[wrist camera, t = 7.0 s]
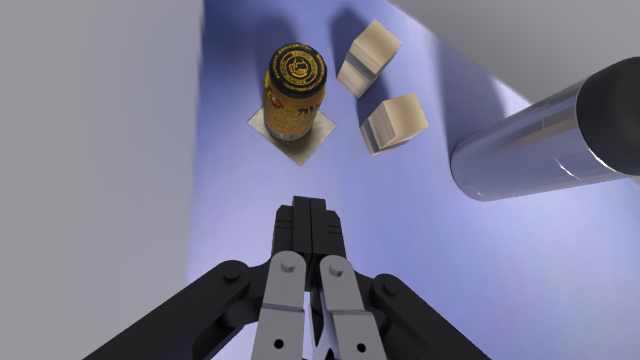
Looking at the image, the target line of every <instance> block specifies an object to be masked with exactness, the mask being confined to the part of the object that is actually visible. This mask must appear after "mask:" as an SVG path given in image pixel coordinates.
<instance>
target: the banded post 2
mask: <svg viewBox="0 0 640 360" xmlns="http://www.w3.org/2000/svg"><path fill="white" fill-rule="evenodd" d="M428 126H429V125H428V123H427V121H426V118H425V116H424V113H423V111H422V108H421V106H420V103H419V101H418V98H417V96H416V93H411V94H407V95H404V96H400V97H396V98H393V99H389V100H385V101H382V103H381V104H380V105H379V106H378V107H377V108H376V109H375V111H374V112H373V113H372V114H371V115H370V116H369V117H367V118H366V119H365V120H364V122H363V124H362V126H361V127H360V130H361V133H362V135H363V138H364V141H365V143H366V146H367V149H368V151H369V154H370V156H372V155H376V154H379V153H382V152H385V151H388V150H391V149H395V148H397V147H399V146H400V145H403V144H405V143H407V142H408V141H410V140H409V139H411V138H412V137H414V136H415V135H417V134H418V133H420V132H421V131H422V130H424V129H425V128H427V127H428Z"/></svg>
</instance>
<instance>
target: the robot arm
mask: <svg viewBox="0 0 640 360" xmlns="http://www.w3.org/2000/svg"><path fill="white" fill-rule="evenodd" d="M451 170H452V174H453V177H454V179H455V182H456V183H457V185H458V186H459V188H460V189H461V190H462V191H463V192H464V193H465V194H466V195H468V196H469V197H471V198H473V199H476V200H479V201H494V200H500V199H506V198H512V197H518V196H524V195H530V194H536V193H541V192H547V191H553V190H559V189H565V188H571V187H576V186H582V185H588V184H594V183H600V182H605V181H611V180H617V179H622V178H628V177H634V176H640V57H633V58H628V59H625V60H622V61H620V62H617V63H615V64H613V65H611V66H609V67H607V68H605V69H603V70H601V71H599V72H597V73H595V74H593V75H591V76H589V77H587V78H585V79H583V80H581V81H579V82H577V83H575V84H573V85H571V86H569V87H567V88H565V89H563V90H561V91H559V92H557V93H555V94H553V95H551V96H549V97H547V98H545V99H543V100H541V101H539V102H537V103H535V104H533V105H531V106H529V107H527V108H525V109H523V110H521V111H519V112H517V113H515V114H513V115H511V116H509V117H507V118H505V119H503V120H501V121H499V122H497V123H495V124H493V125H491V126H489V127H487V128H485V129H483V130H481V131H479V132H477V133H475V134H473V135H471V136H469V137H467V138H465V139H463V140H462V141H461V142H460V143H458V145H457V146H456V147H455V149H454V151H453V154H452V158H451ZM304 291H307V292H310V301H309V305H308V313H309V323H310V332H311V341H312V350H313V359H312V360H491V359H490V358H489V357H488V356H487V355H485V354H484V353H483V352H482V351H481V350H480V349H479V348H477V347H476V346H475V345H474V344H473V343H472V342H471V341H469V340H468V339H467V338H466V337H465V336H464V335H463V334H461V333H460V332H459V331H458V330H457V329H456V328H455V327H453V326H452V325H451V324H450V323H449V322H448V321H447V320H445V319H444V318H443V317H442V316H441V315H440V314H439V313H437V312H436V311H435V310H434V309H433V308H432V307H431V306H429V305H428V304H427V303H426V302H425V301H424V300H423V299H421V298H420V297H419V296H418V295H417V294H416V293H415V292H413V291H412V290H411V289H410V288H409V287H408V286H407V285H405V284H404V283H403V282H402V281H401V280H400V279H398V278H397V277H395V276H393V275H390V274H379V275H377V276H376V277H375V278H374V279H372V278H370V277H367V276H364V275H362V274H359V273H358V272H356V271H355V270H354V269H353V267H352V265H351V263H350V262H349V261H348V260H347V258H346V252H345V246H344V240H343V235H342V228H341V223H340V218H339V217H338V215H337V214H336V212H335V211H331V210H326V203H325V199H319V198H309V197H301V196H293V201H292V206H287V205H281V206H280V208H279V209H278V210H277V212H276V219H275V225H274V232H273V241H272V251H271V258H270V259H269V260H268V261H267V262H266V263H264V264H262V265H259V266H255V267H250V268H249V267H248V266H247V265H246V264H245V263H243V262H241V261H237V260H228V261H224V262H222V263H220V264H218V265H217V266H216V267H214V268H213V269H211V270H210V271H208V272H207V273H206V274H204V275H203V276H201V277H200V278H198V279H197V280H196V281H194V282H193V283H191V284H190V285H188V286H187V287H186V288H184V289H183V290H181V291H180V292H178V293H177V294H175V295H174V296H173V297H171V298H170V299H168V300H167V301H166V302H164V303H163V304H161V305H160V306H158V307H157V308H156V309H154V310H153V311H151V312H150V313H148V314H147V315H146V316H144V317H143V318H141V319H140V320H138V321H137V322H135V323H134V324H133V325H131V326H130V327H128V328H127V329H125V330H124V331H123V332H121V333H120V334H118V335H117V336H115V337H114V338H112V339H111V340H110V341H108V342H107V343H105V344H104V345H103V346H101V347H100V348H98V349H97V350H96V351H94V352H93V353H91V354H90V355H88V356H87V357H85V358H84V359H82V360H211V359H212V358H213V357H214V356H215V355H216V354H217V353H218V352H219V351H220V350H221V349H222V348H223V347H224V346H225V345H226V344H227V343H228V342H229V341H230V340H231V339H232V338H233V337H235V336H236V335H237V334H238V333H239V332H240V331H241V330H242V329H243V327H244V326H245V325H246V324H250V323H254V322H257V321H258V327H257V332H256V337H255V342H254V347H253V352H252V357H251V360H307V359H304V358H302V351H303V335H304V319H305V311H304V310H303V302H304Z"/></svg>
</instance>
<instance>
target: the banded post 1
mask: <svg viewBox="0 0 640 360" xmlns="http://www.w3.org/2000/svg"><path fill="white" fill-rule="evenodd" d="M401 44H402V43H401V42H400V41H399V40H398V39H397V38H396V37H394V36H393V35H392V34H391V33H390V32H389V31H388V30H387V29H385V28H384V27H383V26H382V25H381V24H380V23H379V22H378V21H376V20H374V21H373V22H372V23H371V24H370V25H369V26H368V27H367V28H366V29H365V30H364V31H363V32H362V33H361V34H360V35H359V36H358V37H357V38H356V39H355V40H354V41H353V43H352V46H351V48H350V49H349V50H348V52H347V54H346V56H345V58H344V59H345V61H344V63H343V65H342V67H341V70H340V72H339V74H338V76H337V78H336V79H337V80H338V81H339V82H340V83H342V84H343V85H344V86H345V87H346V88H347V89H348V90H349V91H351V92H352V93H353V94H354V95H355V96H356V97H357V98H358V99H359V98H360V97H361V96H362V95H363V94H364V93H365V92H366V91H367V89H368V88H369V87H370V86H371V85H372V84H373V83H374V82H375V81H376V80H377V78H378V77H379V75H380V74H381V73H382V71H383V70H384V68H385V67H386V66H387V64H388V63H389V62H390V61H391V60H392V59H393V57H394V56H395V55H396V53H397V52H396V51H397V50H398V49H399V47H400V46H401Z"/></svg>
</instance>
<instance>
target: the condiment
mask: <svg viewBox="0 0 640 360" xmlns="http://www.w3.org/2000/svg"><path fill="white" fill-rule="evenodd" d="M326 78H327V67H326V64H325V62H324V60H323V57H322V56H321V55H320V54H319V53H318V52H317V51H316V50H314V49H313V48H312V47H310V46H307V45H303V44H301V43H291V44H288V45H285V46H283V47H281V48H280V49H279V50H277V51H276V52H275V53H274V54H273V56H272V58H271V61H270V63H269V69H268V71H267V73H266V76H265V81H264V106H263V107H262V108H261V109H260V110H259V111H258V112H257V113H256V114H255V115H254V116H253V117H252V118H251V119H250V120H249V121H248V122H247V123H248V124H250V125H251V126H252V127H253V128H254V129H255V130H257V131H258V132H259V133H260V134H262V135H263V136H264V137H265V138H266V139H267V140H269V141H270V142H271V143H272V144H274V145H275V146H276V147H278V148H279V149H280V150H281V151H282V152H284V153H285V154H286V155H287V156H288V157H290V158H291V159H292V160H293V161H295V162H296V163H297V164H298V165H299V166H302V165H303V164H304V163H305V162H306V160H307V159H308V158H309V157H310V156H311V155H312V153H313V152H314V151H315V150H316V149H317V148H318V146H319V145H320V144H321V143H322V142H323V141H324V139H325V138H326V137H327V136H328V135H329V133H330V132H331V131H332V130H333V129H334V128H335V126H336V124H334V123H333V122H332V121H331V120H330V119H328V118H327V117H326V116H325V115H324V114H322V113H321V112H320V111H319V110H318V109H319V107H320V105H321V102H322V100H323V97H324V94H325V83H326ZM312 124H314V125H312ZM313 126H314V129H313ZM287 143H288V144H287Z"/></svg>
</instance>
